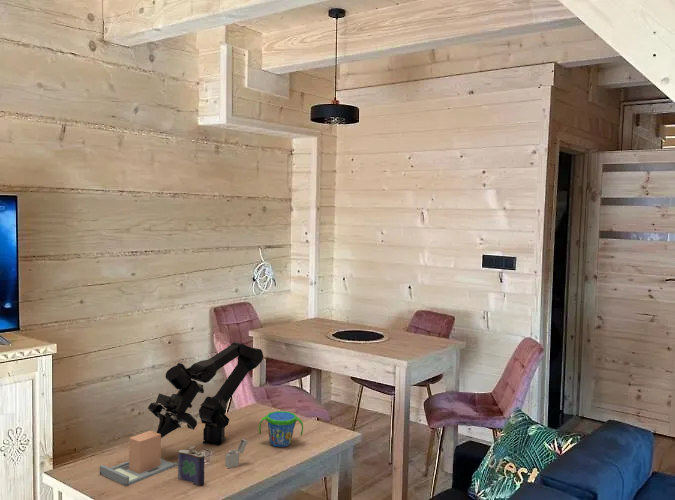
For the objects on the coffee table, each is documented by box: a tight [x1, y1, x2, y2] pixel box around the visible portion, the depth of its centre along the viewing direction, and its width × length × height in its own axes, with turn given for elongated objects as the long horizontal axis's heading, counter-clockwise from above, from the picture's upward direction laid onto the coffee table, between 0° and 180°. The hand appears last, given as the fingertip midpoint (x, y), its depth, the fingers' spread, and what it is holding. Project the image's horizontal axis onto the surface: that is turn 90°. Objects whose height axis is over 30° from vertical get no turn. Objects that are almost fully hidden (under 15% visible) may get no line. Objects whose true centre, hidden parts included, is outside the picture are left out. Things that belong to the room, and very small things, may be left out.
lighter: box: [225, 438, 249, 470], centre depth 194 cm, size 7×2×8 cm, turn 129°
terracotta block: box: [128, 430, 162, 474], centre depth 189 cm, size 8×5×10 cm, turn 145°
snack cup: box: [258, 410, 304, 448], centre depth 213 cm, size 16×10×10 cm
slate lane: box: [99, 458, 178, 487], centre depth 187 cm, size 19×13×3 cm
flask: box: [177, 445, 205, 487], centre depth 181 cm, size 9×3×11 cm, turn 65°
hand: (156, 438), depth 192 cm, fingers closed
